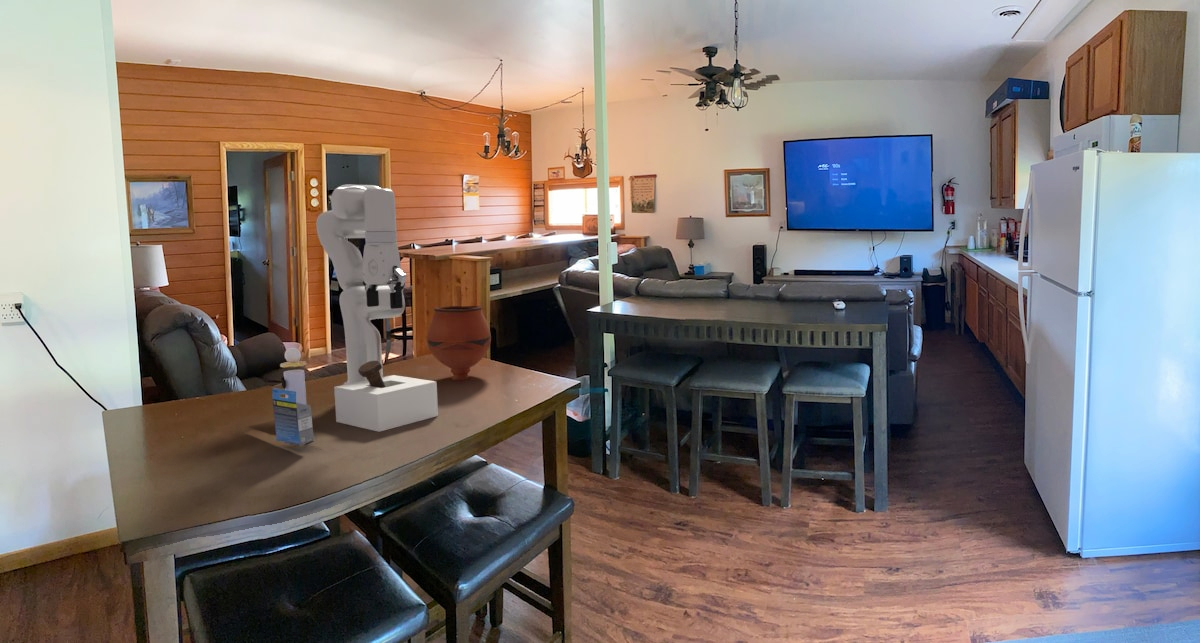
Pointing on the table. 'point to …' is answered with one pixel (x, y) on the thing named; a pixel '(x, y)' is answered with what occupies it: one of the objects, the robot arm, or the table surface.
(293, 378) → the perfume bottle
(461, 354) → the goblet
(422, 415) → the hitch block
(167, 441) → the table surface
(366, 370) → the bolt
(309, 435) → the label tape box
